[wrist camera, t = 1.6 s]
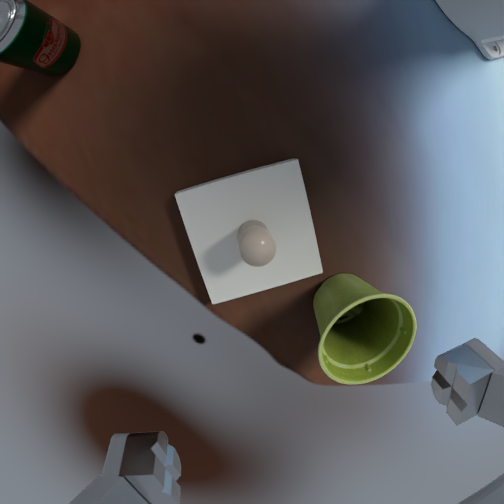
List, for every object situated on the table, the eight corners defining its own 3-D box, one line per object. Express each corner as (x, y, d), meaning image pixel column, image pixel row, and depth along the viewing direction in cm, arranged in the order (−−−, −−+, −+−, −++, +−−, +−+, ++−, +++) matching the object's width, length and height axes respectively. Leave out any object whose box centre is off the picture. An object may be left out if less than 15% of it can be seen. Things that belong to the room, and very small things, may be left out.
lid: (295, 158, 28) (310, 162, 23) (320, 268, 32) (336, 290, 27) (175, 192, 28) (167, 202, 23) (212, 299, 32) (211, 326, 27)
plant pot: (305, 345, 36) (326, 397, 27) (287, 273, 32) (310, 317, 24) (380, 319, 36) (415, 362, 27) (372, 246, 32) (415, 279, 24)
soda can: (71, 80, 24) (0, 57, 13) (33, 74, 23) (-42, 56, 12) (90, 32, 22) (31, -12, 11) (51, 29, 22) (-15, -7, 10)
